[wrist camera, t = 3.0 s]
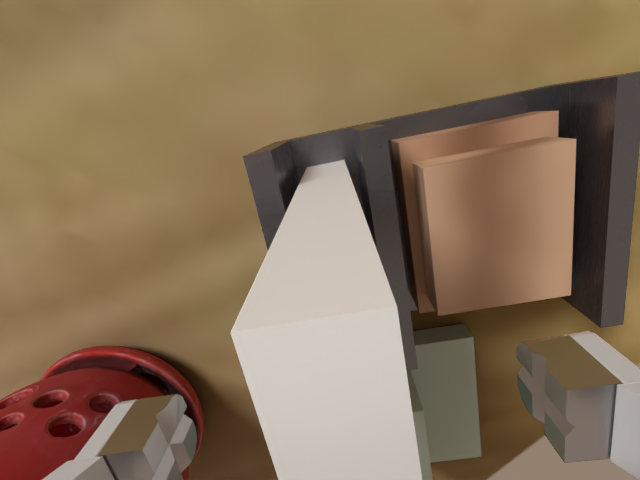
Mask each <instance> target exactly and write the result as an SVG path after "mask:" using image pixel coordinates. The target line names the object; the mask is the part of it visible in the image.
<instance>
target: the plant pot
mask: <svg viewBox="0 0 640 480" xmlns="http://www.w3.org/2000/svg"><path fill="white" fill-rule="evenodd" d="M174 394H178V395H181V396H182V397H183V399H184V401H185V403H186V405H187V408H186V410H185V413H184V414H185V415H186V416H187V417H189V418H190V419H192V420H193V422H194V425H195V428H196V434H197V443H196V451H195V454H194V457H193V459H192V461H193V460H194V458H195V457H196V455H197V454H198V451H199V449H200V447H201V444H202V441H203V436H204V415H203V410H202V407H201V404H200V401H199V399H198V397H197V395H196V393H195V391H194V389H193V388H192V386H191V385H190V384H189V382H188V381H187V380H186V379H185V378H184V377H183V376H182V375H181V374H180V373H179V372H178V371H177V370H176V369H175V368H173V367H172V366H171V365H169V364H168V363H167V362H165V361H163V360H162V359H160V358H158V357H156V356H154V355H152V354H149V353H146V352H143V351H140V350H137V349H133V348H128V347H122V346H96V347H90V348H85V349H82V350H79V351H76V352H73V353H71V354H69V355H67V356H65V357H63V358H62V359H60V360H59V361H57V362H56V363H55V364H54V365H52V366H51V367H50V368H49V369H48V370H47V371H46V373H45V374H44V375H43V377H42V378H41V380H40V381H38V382H36V383H33V384H31V385H29V386H26V387H24V388H22V389H20V390H18V391H16V392H14V393H12V394H10V395H8V396H6V397H5V398H3V399H1V400H0V480H42V479H44V478H45V477H46V476H48V475H49V474H50V473H52V472H53V471H54V470H56V469H57V468H59V467H60V466H61V465H63V464H64V463H65V462H67V461H71V460H74V459H75V458H76V456H77V455H78V454H79V452H80V451H81V450H82V448H83V447H84V446H85V444H86V443H87V442H88V440H89V439H90V438H91V436H92V435H93V434H94V432H95V431H96V430H97V428H98V427H99V426H100V424H101V423H102V422H103V420H104V419H105V418H106V416H107V415H108V414H109V412H110V411H111V410H112V409H113V407H114V406H115V405H116V404H118V403H120V402H122V401H129V400H136V399H142V398H150V397H158V396H166V395H174ZM190 464H191V463H190ZM190 464H189V465H190ZM189 465H188V466H187V468H186V469H185V470H184V471H183V472H182V476H183V480H188V471H189Z"/></svg>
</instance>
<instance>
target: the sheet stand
mask: <svg viewBox="0 0 640 480" xmlns="http://www.w3.org/2000/svg"><path fill="white" fill-rule="evenodd" d="M413 335H414V343H415V350H416V358H417V365H418V369H415V370H408V371H407V378H408V385H409V392H410V399H411V406H412V413H413V420H414V426H415V433H416V440H417V447H418V454H419V461H420V468H421V474H422V480H433V479H432V471H431V464H430V463H432V462H441V461H449V460H457V459H465V458H474V457H482V455H481V440H480V426H479V411H478V396H477V382H476V367H475V352H474V338H473V335H472V334H471V332H470V331H469V329H468V328H467V326H466V325H465V323H464V324H457V325H451V326H444V327H438V328H431V329H425V330H418V331H413Z"/></svg>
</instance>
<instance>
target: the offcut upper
mask: <svg viewBox="0 0 640 480" xmlns="http://www.w3.org/2000/svg"><path fill="white" fill-rule="evenodd" d="M575 166H576V139H572V138H560V137H548V136H546V137H541V138H536V139H531V140H526V141H520V142H515V143H510V144H505V145H500V146H495V147H490V148H485V149H480V150H474V151H469V152H464V153H459V154H454V155H449V156H444V157H439V158H434V159H428V160H423V161H418V162H413V163H412V167H413V176H414V185H415V194H416V202H417V211H418V220H419V229H420V238H421V247H422V256H423V264H424V273H425V282H426V291H427V297H428V298H429V300H430V302H431V304H432V306H433V307H434V309H435V311H436V313H437V315H438V316H441V315H448V314H454V313H461V312H467V311H473V310H480V309H486V308H493V307H499V306H505V305H512V304H518V303H524V302H531V301H537V300H544V299H550V298H556V297H563V296H569V295H571V280H572V252H573V223H574V194H575Z"/></svg>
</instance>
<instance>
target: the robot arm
mask: <svg viewBox="0 0 640 480" xmlns="http://www.w3.org/2000/svg"><path fill="white" fill-rule="evenodd" d="M517 358H518V360H519V361H520V362H521V364H522V365H523V366H522V368H521V369H520V370H519V372H518V373H517V378H518V387H519V391H520V394H521V398H522V400H523V402H524V404H525V406H526V408H527V409H528V411H529V412H530V414H531V415H532V417H534V418H535V419H537V420H539V421H541V422H542V423H544V424H545V436H546V437H547V438H548V440H549V441H550V443H551V444H552V446H553V447H554V448H555V450H556V451H557V453H558V454H559V455H560V457H561V458H562V460H563V461H564V462H565V463H568V462H578V461H589V460H600V459H610V461H611V462H613V463H614V464H616V465H617V466H619V467H620V468H622V469H623V470H625V471H626V472H628V473H629V474H631V475H632V476H634V477H635V478H637V479H638V480H640V368H638V367H637V366H636V365H635V364H633V363H632V362H631V361H630V360H628V359H627V358H626V357H625V356H623V355H622V354H621V353H619V352H618V351H617V350H616V349H614V348H613V347H612V346H611V345H609V344H608V343H607V342H605V341H604V340H603V339H602V338H600V337H599V336H598V335H597V334H595V333H593V332H590V331H583V332H578V333H572V334H566V335H564V336H558V337H552V338H545V339H539V340H532V341H526V342H520V343H518V346H517ZM186 408H187V405H186V403H185V401H184V399H183V397H182V396H181V395H178V394H174V395H166V396H158V397H150V398H142V399H136V400H129V401H122V402H120V403H118V404H116V405H115V406H114V407H113V409H112V410H111V411H110V412H109V414H108V415H107V416H106V418H105V419H104V420H103V422H102V423H101V424H100V426H99V427H98V428H97V430H96V431H95V432H94V434H93V435H92V436H91V438H90V439H89V440H88V442H87V443H86V444H85V446H84V447H83V448H82V450H81V451H80V452H79V454H78V455H77V456H76V458H75V459H74V460H71V461H67V462H65V463H64V464H63V465H61V466H60V467H59V468H57V469H56V470H54V471H53V472H52V473H50V474H49V475H48V476H46V477H45V478H44V479H42V480H183V476H182V472H183V471H184V470H185V469H186V468H187V466H188V465H189V464H190V463H191V462H192V459H193V457H194V454H195V451H196V443H197V434H196V428H195V425H194V422H193V420H192V419H190V418H189V417H187V416H186V415H185V414H184V413H185V410H186Z"/></svg>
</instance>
